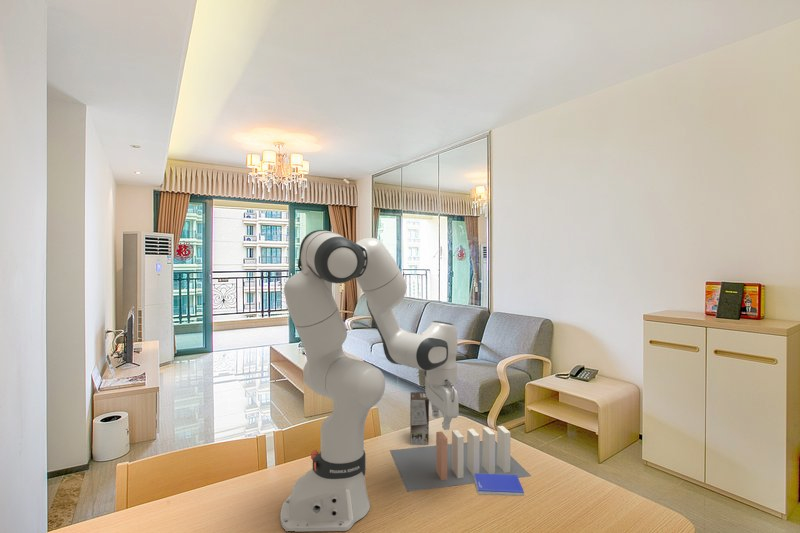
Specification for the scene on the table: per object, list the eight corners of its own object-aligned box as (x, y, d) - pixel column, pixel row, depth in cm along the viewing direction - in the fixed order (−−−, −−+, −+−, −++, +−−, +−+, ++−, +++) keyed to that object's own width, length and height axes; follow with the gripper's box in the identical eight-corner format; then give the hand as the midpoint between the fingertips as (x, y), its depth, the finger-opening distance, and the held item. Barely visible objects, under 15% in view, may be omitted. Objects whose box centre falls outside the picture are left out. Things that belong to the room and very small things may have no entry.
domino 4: (504, 472, 121) (504, 432, 121) (497, 464, 126) (497, 426, 126) (510, 471, 122) (510, 432, 122) (502, 463, 127) (502, 425, 127)
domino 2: (473, 476, 119) (473, 435, 119) (467, 467, 124) (467, 429, 124) (479, 475, 120) (479, 435, 120) (472, 467, 125) (472, 428, 124)
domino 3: (489, 474, 120) (489, 434, 120) (482, 466, 125) (482, 427, 125) (494, 473, 121) (495, 433, 121) (487, 465, 126) (487, 427, 125)
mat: (407, 492, 111) (407, 491, 111) (389, 451, 136) (389, 450, 136) (531, 477, 120) (531, 476, 120) (494, 440, 144) (494, 439, 144)
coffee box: (429, 446, 140) (429, 399, 139) (410, 446, 140) (410, 399, 139) (427, 435, 149) (427, 391, 148) (410, 434, 149) (410, 391, 149)
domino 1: (457, 478, 118) (457, 437, 118) (451, 469, 123) (452, 430, 123) (463, 477, 119) (463, 436, 118) (457, 469, 123) (457, 430, 123)
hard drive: (478, 489, 110) (524, 491, 109) (473, 472, 118) (516, 474, 118) (478, 495, 110) (523, 496, 110) (473, 477, 118) (516, 479, 118)
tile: (441, 480, 117) (441, 439, 117) (436, 471, 122) (436, 431, 122) (447, 479, 117) (447, 438, 117) (441, 470, 122) (441, 431, 122)
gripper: (465, 385, 110) (463, 436, 110) (440, 367, 130) (439, 410, 130) (443, 386, 109) (441, 437, 108) (422, 368, 129) (420, 411, 128)
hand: (440, 422), depth 119 cm, fingers open, 8 cm apart
